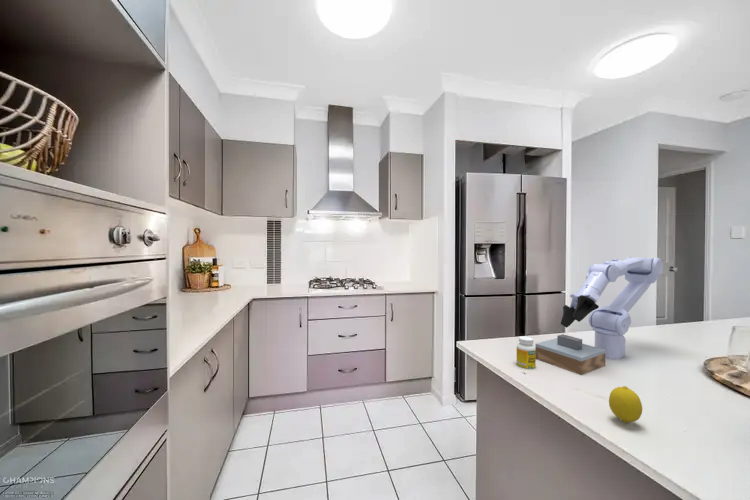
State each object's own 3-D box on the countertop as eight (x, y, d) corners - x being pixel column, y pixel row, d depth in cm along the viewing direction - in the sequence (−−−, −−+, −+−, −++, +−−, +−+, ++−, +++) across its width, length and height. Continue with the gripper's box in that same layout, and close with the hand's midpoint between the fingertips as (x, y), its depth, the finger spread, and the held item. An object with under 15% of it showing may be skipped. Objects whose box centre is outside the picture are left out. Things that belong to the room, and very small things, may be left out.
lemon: (602, 415, 67) (602, 381, 66) (624, 414, 67) (625, 380, 67) (624, 431, 61) (625, 393, 61) (649, 430, 62) (650, 392, 61)
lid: (559, 344, 104) (559, 329, 104) (605, 357, 92) (605, 340, 92) (535, 351, 97) (535, 334, 97) (581, 366, 85) (581, 347, 85)
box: (559, 354, 104) (559, 340, 104) (605, 368, 92) (605, 353, 92) (535, 361, 98) (535, 346, 97) (581, 378, 85) (581, 361, 85)
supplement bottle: (522, 363, 96) (522, 334, 95) (538, 369, 91) (539, 339, 91) (512, 367, 93) (513, 337, 93) (529, 373, 88) (530, 342, 88)
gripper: (567, 291, 104) (547, 319, 100) (590, 275, 91) (569, 307, 87) (587, 304, 101) (567, 334, 97) (613, 290, 89) (592, 323, 85)
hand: (569, 322), depth 92 cm, fingers open, 7 cm apart
